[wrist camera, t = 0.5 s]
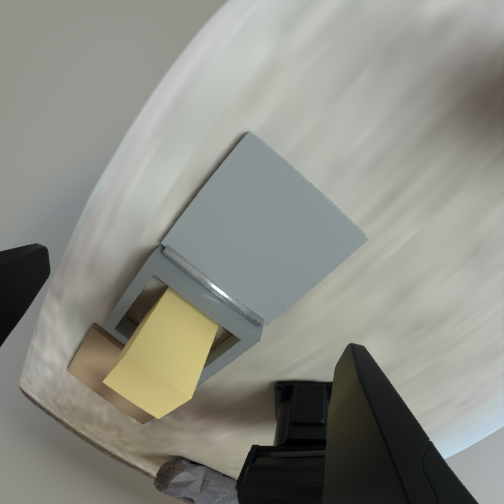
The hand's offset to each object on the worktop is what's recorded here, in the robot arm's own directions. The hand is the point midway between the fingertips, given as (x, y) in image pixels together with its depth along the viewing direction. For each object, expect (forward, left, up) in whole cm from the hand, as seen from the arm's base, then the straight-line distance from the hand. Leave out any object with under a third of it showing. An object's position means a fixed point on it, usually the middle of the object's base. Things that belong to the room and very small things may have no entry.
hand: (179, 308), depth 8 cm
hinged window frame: (-8, +4, -13) cm, 16 cm away
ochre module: (-12, +7, -13) cm, 19 cm away
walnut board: (-22, +17, -13) cm, 31 cm away
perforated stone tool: (-44, +10, -14) cm, 47 cm away
